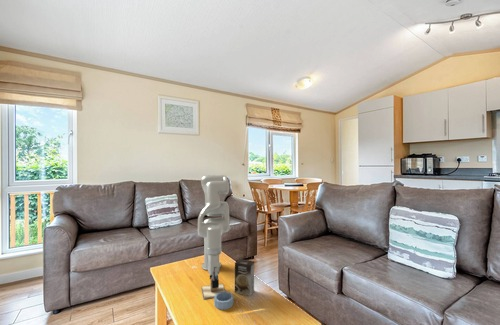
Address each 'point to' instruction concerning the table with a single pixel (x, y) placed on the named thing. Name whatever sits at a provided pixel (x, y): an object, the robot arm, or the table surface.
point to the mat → (209, 298)
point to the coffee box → (244, 277)
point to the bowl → (223, 300)
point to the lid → (212, 290)
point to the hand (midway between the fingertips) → (214, 283)
